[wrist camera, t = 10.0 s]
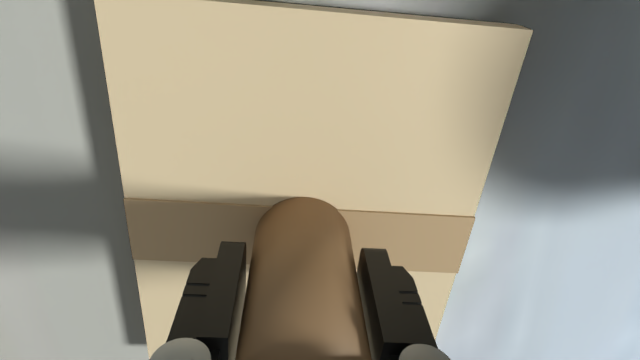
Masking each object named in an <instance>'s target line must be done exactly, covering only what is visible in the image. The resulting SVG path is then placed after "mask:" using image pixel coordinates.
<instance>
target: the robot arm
mask: <svg viewBox="0 0 640 360" xmlns="http://www.w3.org/2000/svg"><path fill="white" fill-rule="evenodd" d="M357 278H358V283H359V289H360V295H361V301H362V306H363V312H364V318H365V324H366V329H367V335H368V341H369V347H370V352H371V358H372V360H451V359H450V358H449V357H448V356H447V355H446V354H445V353H443V352H442V351H441V350H439V349H438V347H437V345H436V342H435V339H434V336H433V333H432V331H431V328H430V325H429V322H428V319H427V316H426V313H425V310H424V307H423V305H422V302H421V299H420V296H419V294H418V290H417V287H416V284H415V282H414V279H413V277H412V276H411V275H410V274H409V273H408V272H407V271H406V269H405V268H404V267H403V266H391V263H390V259H389V256H388V252H387V250H386V249H379V248H362V249H361V251H360V256H359V262H358V268H357ZM245 291H246V242H228V241H221V243H220V247H219V251H218V255H217V258H201V259H200V260H199V261H198V262H197V263H196V264H195V265H194V266H193V267H192V268H191V270H190V273H189V276H188V279H187V282H186V285H185V288H184V291H183V294H182V297H181V300H180V303H179V306H178V309H177V311H176V314H175V317H174V320H173V323H172V326H171V329H170V332H169V335H168V338H167V341H166V343H165V344H163V345H162V346H160V347H159V348H158V349H157V350H156V351H155V352H154V353H153V354H152V356H151V358H150V359H149V360H235V357H236V350H237V344H238V338H239V331H240V325H241V319H242V312H243V306H244V300H245Z"/></svg>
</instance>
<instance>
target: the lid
mask: <svg viewBox="0 0 640 360" xmlns="http://www.w3.org/2000/svg"><path fill="white" fill-rule="evenodd" d="M94 4H95V10H96V17H97V23H98V30H99V36H100V43H101V49H102V56H103V62H104V69H105V75H106V82H107V88H108V94H109V101H110V107H111V114H112V120H113V127H114V133H115V140H116V146H117V153H118V159H119V166H120V172H121V179H122V185H123V192H124V199H123V201H124V207H125V214H126V220H127V226H128V233H129V239H130V246H131V252H132V258H133V260H134V263H135V269H136V276H137V282H138V289H139V295H140V302H141V308H142V315H143V321H144V328H145V334H146V341H147V347H148V354H149V359H150V358H151V356H152V354H153V353H154V352H155V351H156V350H157V349H158V348H159V347H160V346H162V345H163V344H165V343H166V341H167V338H168V335H169V332H170V329H171V326H172V323H173V320H174V317H175V314H176V311H177V309H178V306H179V303H180V300H181V297H182V294H183V291H184V288H185V285H186V282H187V279H188V276H189V273H190V270H191V268H192V267H193V266H194V265H195V264H196V263H197V262H198V261H199V260H200V259H201V258H217V255H218V251H219V247H220V243H221V241H228V242H246V291H245V300H244V306H243V312H242V319H241V325H240V331H239V338H238V344H237V350H236V357H235V360H372V358H371V352H370V347H369V341H368V335H367V329H366V324H365V318H364V312H363V306H362V301H361V295H360V289H359V283H358V278H357V268H358V262H359V256H360V251H361V249H362V248H379V249H386V250H387V252H388V256H389V259H390V263H391V266H403V267H404V268H405V269H406V271H407V272H408V273H409V274H410V275H411V276H412V277H413V279H414V282H415V284H416V287H417V290H418V294H419V296H420V299H421V302H422V305H423V307H424V310H425V313H426V316H427V319H428V322H429V325H430V328H431V331H432V333H433V336H434V339H436V335H437V332H438V329H439V326H440V323H441V320H442V317H443V313H444V310H445V307H446V304H447V301H448V298H449V294H450V291H451V288H452V285H453V282H454V279H455V276H456V273H458V271H459V268H460V265H461V261H462V258H463V255H464V252H465V249H466V246H467V243H468V239H469V236H470V233H471V230H472V227H473V224H474V221H475V217H474V216H475V212H476V209H477V206H478V203H479V200H480V197H481V194H482V190H483V187H484V184H485V181H486V178H487V175H488V171H489V168H490V165H491V162H492V159H493V156H494V153H495V149H496V146H497V143H498V140H499V137H500V134H501V130H502V127H503V124H504V121H505V118H506V115H507V112H508V108H509V105H510V102H511V99H512V96H513V93H514V89H515V86H516V83H517V80H518V77H519V74H520V71H521V67H522V64H523V61H524V58H525V55H526V52H527V48H528V45H529V42H530V39H531V36H532V33H533V30H531V29H528V28H526V27H523V26H520V25H517V24H508V23H497V22H486V21H475V20H464V19H453V18H442V17H431V16H420V15H410V14H399V13H388V12H377V11H366V10H355V9H344V8H333V7H322V6H311V5H300V4H290V3H279V2H268V1H257V0H94Z"/></svg>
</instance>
